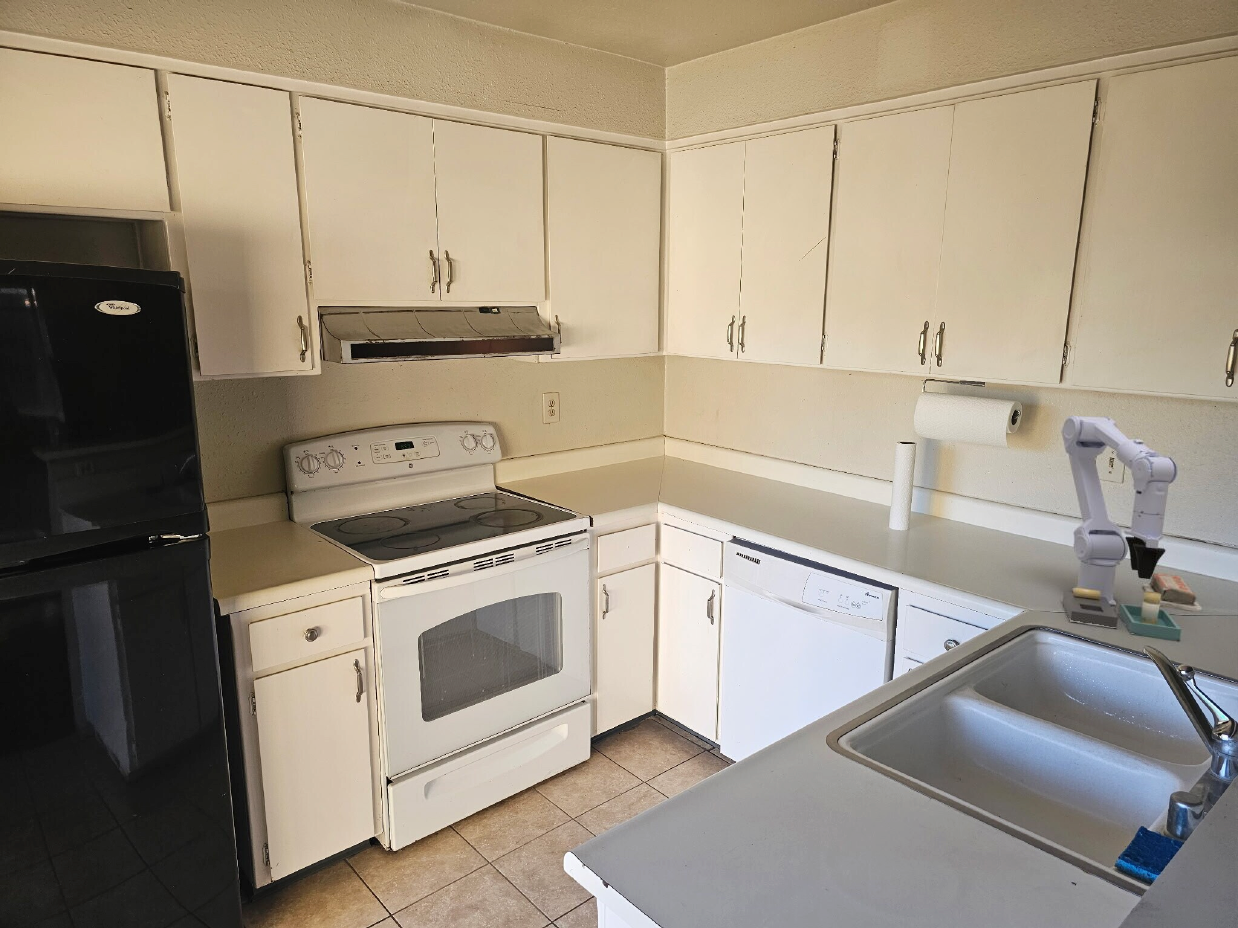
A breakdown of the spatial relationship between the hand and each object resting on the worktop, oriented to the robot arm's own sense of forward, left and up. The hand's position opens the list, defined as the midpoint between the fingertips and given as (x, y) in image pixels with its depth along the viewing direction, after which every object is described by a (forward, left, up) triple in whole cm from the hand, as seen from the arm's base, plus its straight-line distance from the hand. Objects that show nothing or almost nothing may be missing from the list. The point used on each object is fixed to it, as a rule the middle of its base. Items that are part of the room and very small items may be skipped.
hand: (1140, 574), depth 175 cm
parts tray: (+5, +2, -10) cm, 11 cm away
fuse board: (+2, -9, -10) cm, 14 cm away
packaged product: (-24, +11, -11) cm, 28 cm away
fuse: (+5, +2, -10) cm, 11 cm away
